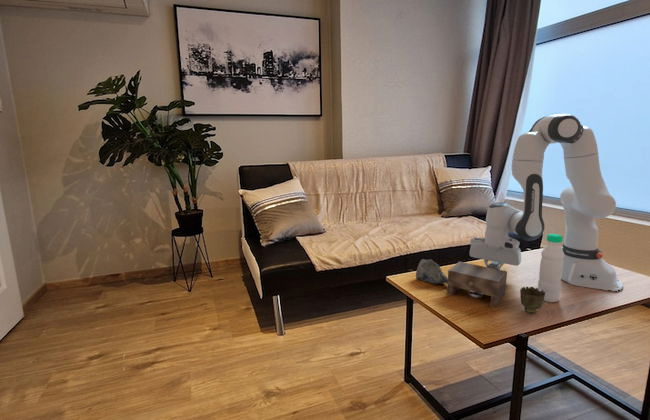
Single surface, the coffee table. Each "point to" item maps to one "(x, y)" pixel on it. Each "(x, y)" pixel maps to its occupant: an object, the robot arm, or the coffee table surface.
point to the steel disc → (475, 294)
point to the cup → (531, 299)
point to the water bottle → (551, 268)
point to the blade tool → (493, 265)
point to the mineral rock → (430, 272)
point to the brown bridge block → (478, 281)
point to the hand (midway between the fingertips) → (493, 270)
